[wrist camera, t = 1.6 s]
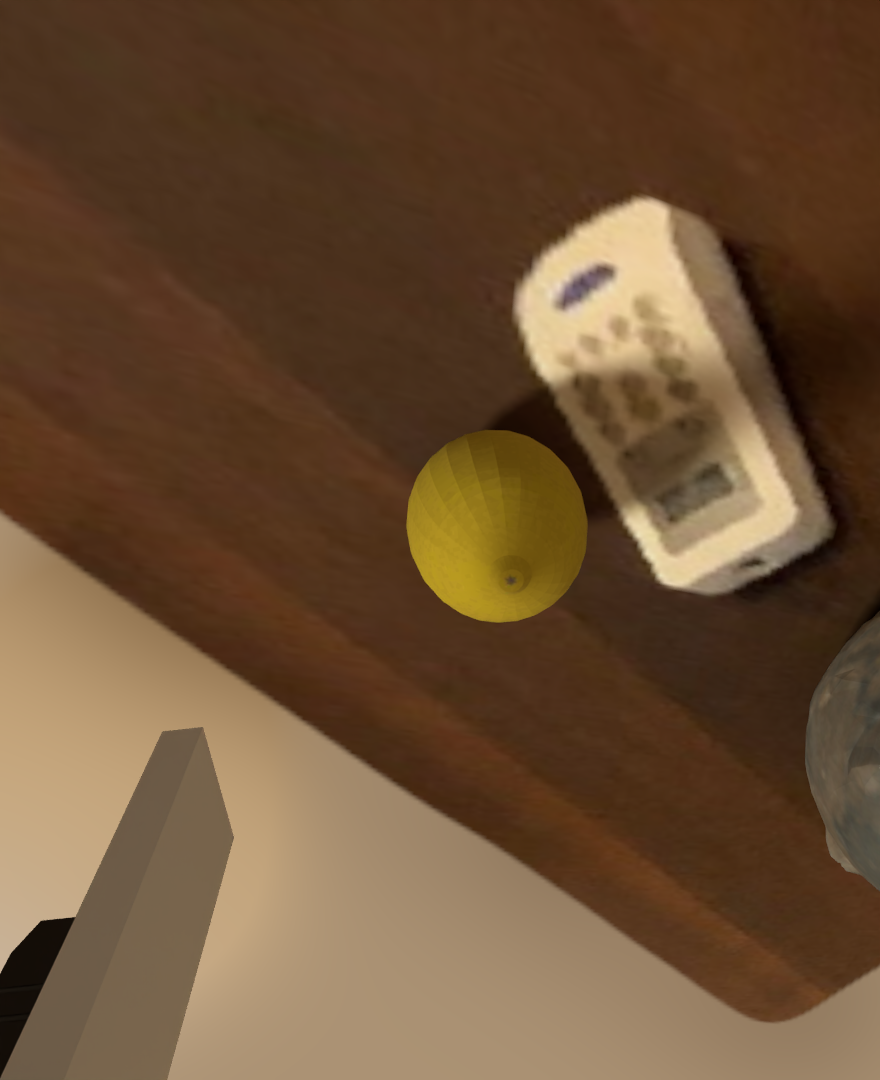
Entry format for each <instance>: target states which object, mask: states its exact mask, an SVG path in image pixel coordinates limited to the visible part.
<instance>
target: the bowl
mask: <svg viewBox="0 0 880 1080" xmlns="http://www.w3.org/2000/svg"><path fill="white" fill-rule="evenodd" d="M805 764H806V770H807V775H808V779H809V784H810V788H811V792H812V794H813V797H814V799H815V802H816V805H817V807H818V809H819V812H820V814H821V817H822V819H823V821H824V824H825V826H826V842H827V845H828V849H829V852H830V855H831V856H832V857H833V858H834V859H835V860H836V861H837V862H839V863H841V866H842V867H843V868H844V869H845V870H846V871H848V872H852V873H856V874H860V875H862V876H863V877H864V878H865V879H866V880H867V881H869V882H870V883H871V884H872V885H873V886H874V887H876V888H877V889H878V890H879V891H880V611H879V612H878V613H877V614H876V615H875V616H874V617H873V618H872V619H871V620H869V621H868V622H866V623H864V624H863V625H862V626H861V627H860V629H859V630H858V631H857V632H856V633H855V634H854V635H853V636H852V637H851V638H850V640H849V641H848V642H847V643H846V644H845V645H844V647H843V648H842V649H841V651H840V652H839V653H838V655H837V656H836V658H835V659H834V660H833V662H832V663H831V665H830V666H829V667H828V669H827V671H826V672H825V674H824V676H823V677H822V679H821V681H820V682H819V684H818V685H817V687H816V689H815V691H814V694H813V697H812V700H811V702H810V711H809V720H808V724H807V728H806V749H805Z"/></svg>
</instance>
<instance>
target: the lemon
mask: <svg viewBox="0 0 880 1080" xmlns="http://www.w3.org/2000/svg"><path fill="white" fill-rule="evenodd" d="M407 533H408V538H409V544H410V549H411V553H412V556H413V558H414V560H415V562H416V564H417V567H418V569H419V571H420V573H421V575H422V577H423V579H424V580H425V582H426V583H427V584H428V585H429V587H430V588H431V589H432V590H433V591H434V592H435V593H436V594H437V596H438V597H439V598H440V599H441V600H442V601H443V602H445V603H446V604H448V605H449V606H451V607H452V608H454V609H455V610H457V611H458V612H460V613H461V614H464V615H467V616H469V617H472V618H475V619H477V620H482V621H490V622H509V621H518V620H521V619H524V618H527V617H531V616H534V615H536V614H538V613H539V612H541V611H543V610H545V609H546V608H548V607H550V606H551V605H553V604H554V603H555V602H556V601H557V600H558V599H559V598H560V597H561V596H562V595H563V594H565V593H566V591H567V590H568V588H569V587H570V585H571V584H572V582H573V581H574V579H575V578H576V576H577V574H578V573H579V570H580V567H581V564H582V561H583V558H584V555H585V551H586V540H587V517H586V512H585V507H584V502H583V498H582V494H581V491H580V489H579V487H578V485H577V483H576V481H575V480H574V478H573V476H572V474H571V472H570V470H569V469H568V467H567V466H566V465H565V464H564V463H563V462H562V461H561V460H560V459H559V458H558V457H557V456H556V455H555V454H554V453H553V452H552V451H551V450H550V449H549V448H547V447H545V446H544V445H542V444H540V443H539V442H537V441H535V440H534V439H532V438H530V437H529V436H525V435H522V434H518V433H515V432H511V431H507V430H484V431H479V432H474V433H470V434H466V435H464V436H462V437H460V438H457V439H455V440H453V441H451V442H449V443H448V444H446V445H445V446H444V447H443V448H442V449H440V450H439V451H438V452H437V453H436V454H435V455H433V456H432V457H431V458H430V460H429V461H428V462H427V464H426V465H425V466H424V468H423V469H422V471H421V472H420V473H419V475H418V477H417V479H416V482H415V484H414V487H413V490H412V492H411V495H410V498H409V503H408V514H407Z"/></svg>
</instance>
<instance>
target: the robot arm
mask: <svg viewBox="0 0 880 1080" xmlns="http://www.w3.org/2000/svg"><path fill="white" fill-rule="evenodd" d="M233 839H234V836H233V833H232V829H231V826H230V822H229V818H228V815H227V811H226V808H225V805H224V801H223V797H222V794H221V790H220V786H219V783H218V780H217V776H216V773H215V769H214V765H213V762H212V758H211V755H210V751H209V747H208V744H207V740H206V737H205V733H204V730H203V727H201V728H192V729H182V730H173V731H163V732H162V734H161V736H160V738H159V740H158V742H157V744H156V746H155V749H154V751H153V753H152V755H151V757H150V759H149V761H148V763H147V766H146V768H145V770H144V772H143V774H142V776H141V779H140V781H139V783H138V785H137V787H136V789H135V791H134V793H133V796H132V798H131V800H130V802H129V804H128V806H127V808H126V811H125V813H124V815H123V817H122V819H121V821H120V823H119V826H118V828H117V830H116V832H115V834H114V836H113V838H112V840H111V843H110V845H109V847H108V849H107V851H106V853H105V855H104V857H103V860H102V862H101V864H100V866H99V868H98V870H97V872H96V875H95V877H94V879H93V881H92V883H91V885H90V888H89V890H88V892H87V894H86V896H85V898H84V900H83V902H82V904H81V907H80V909H79V911H78V913H77V915H76V917H72V918H64V919H54V920H46V921H45V920H44V921H40V923H39V924H38V925H37V926H36V927H35V928H34V929H33V930H32V931H31V932H30V933H29V934H28V936H27V937H26V938H25V939H24V940H23V941H22V942H21V943H20V944H19V945H18V946H17V947H16V948H15V950H14V951H13V952H12V953H11V954H10V956H9V958H8V960H7V962H6V964H5V966H4V968H3V969H2V971H1V973H0V1080H167V1078H168V1074H169V1070H170V1066H171V1063H172V1059H173V1056H174V1052H175V1049H176V1045H177V1041H178V1038H179V1034H180V1030H181V1027H182V1023H183V1020H184V1016H185V1012H186V1009H187V1005H188V1002H189V998H190V994H191V991H192V987H193V983H194V980H195V976H196V973H197V969H198V965H199V962H200V958H201V954H202V951H203V947H204V944H205V940H206V936H207V933H208V929H209V925H210V922H211V918H212V914H213V911H214V907H215V904H216V900H217V896H218V893H219V889H220V886H221V882H222V878H223V875H224V871H225V868H226V864H227V860H228V857H229V853H230V849H231V846H232V842H233Z"/></svg>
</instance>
